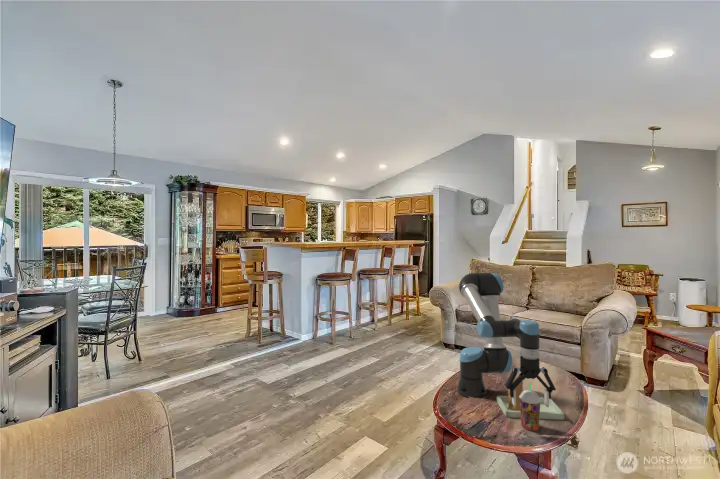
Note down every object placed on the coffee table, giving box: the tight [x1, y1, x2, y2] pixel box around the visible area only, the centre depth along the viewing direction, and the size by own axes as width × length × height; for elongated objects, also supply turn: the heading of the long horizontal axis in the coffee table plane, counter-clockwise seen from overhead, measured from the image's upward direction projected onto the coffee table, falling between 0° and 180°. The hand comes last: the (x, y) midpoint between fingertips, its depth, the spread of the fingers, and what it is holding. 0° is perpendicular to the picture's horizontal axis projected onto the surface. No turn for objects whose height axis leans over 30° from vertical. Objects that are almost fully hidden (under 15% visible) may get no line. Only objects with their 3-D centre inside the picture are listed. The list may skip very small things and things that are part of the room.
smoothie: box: [519, 383, 541, 432], centre depth 148 cm, size 8×8×20 cm
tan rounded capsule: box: [507, 377, 524, 411], centre depth 163 cm, size 6×6×14 cm
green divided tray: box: [496, 395, 566, 421], centre depth 162 cm, size 26×15×4 cm, turn 84°
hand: (530, 405), depth 147 cm, fingers open, 13 cm apart
